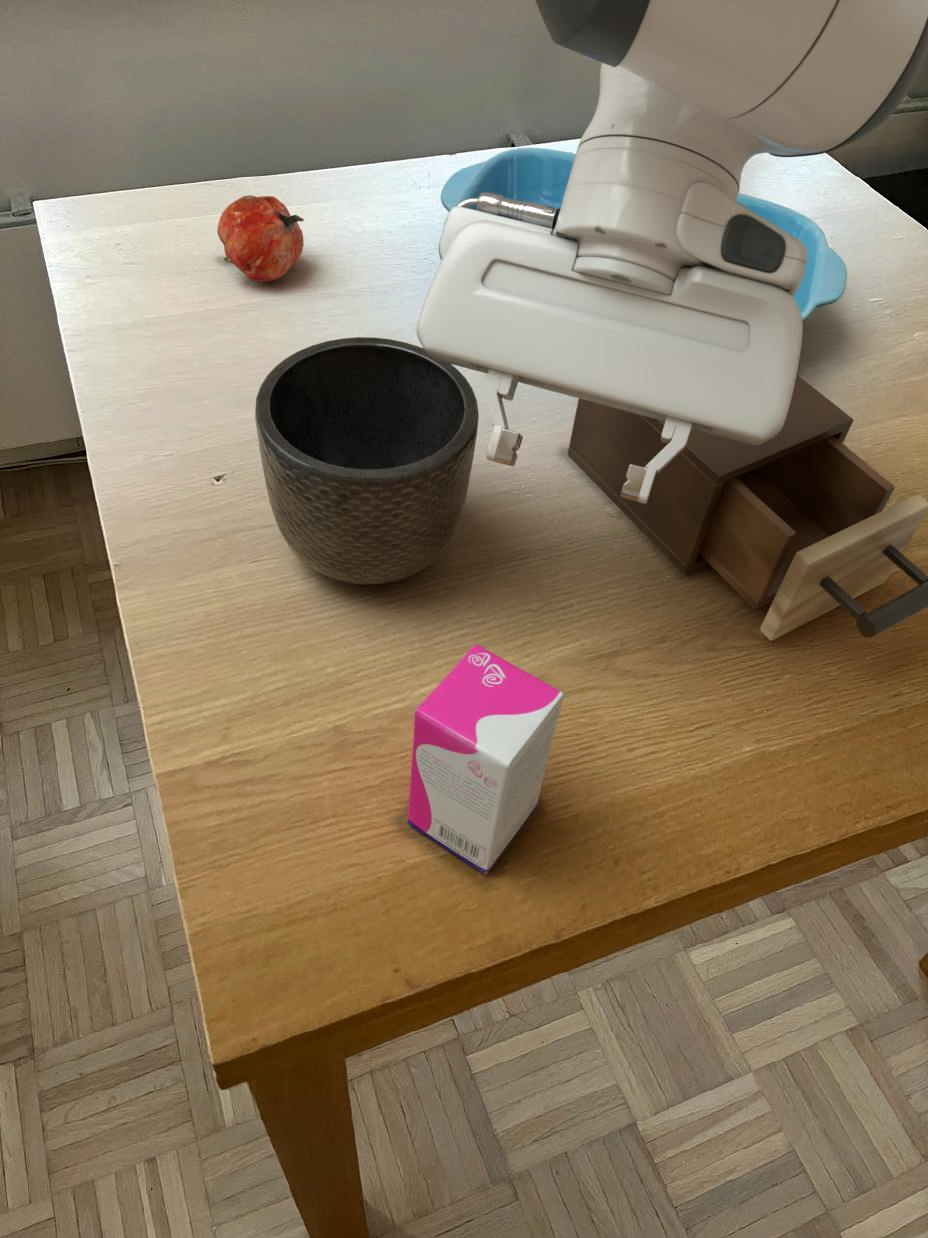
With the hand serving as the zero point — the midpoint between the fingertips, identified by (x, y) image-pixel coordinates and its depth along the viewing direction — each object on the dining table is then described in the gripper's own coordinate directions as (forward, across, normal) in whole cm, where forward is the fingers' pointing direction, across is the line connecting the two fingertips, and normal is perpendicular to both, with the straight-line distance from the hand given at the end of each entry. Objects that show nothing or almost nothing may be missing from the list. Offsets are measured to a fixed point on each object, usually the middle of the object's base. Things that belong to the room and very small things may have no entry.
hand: (565, 481), depth 56 cm
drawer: (+1, +15, +20) cm, 26 cm away
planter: (+8, -14, +15) cm, 22 cm away
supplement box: (+20, 0, +3) cm, 20 cm away
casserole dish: (-20, -3, +43) cm, 48 cm away
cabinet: (-4, +7, +26) cm, 27 cm away
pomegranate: (-12, -36, +35) cm, 52 cm away
